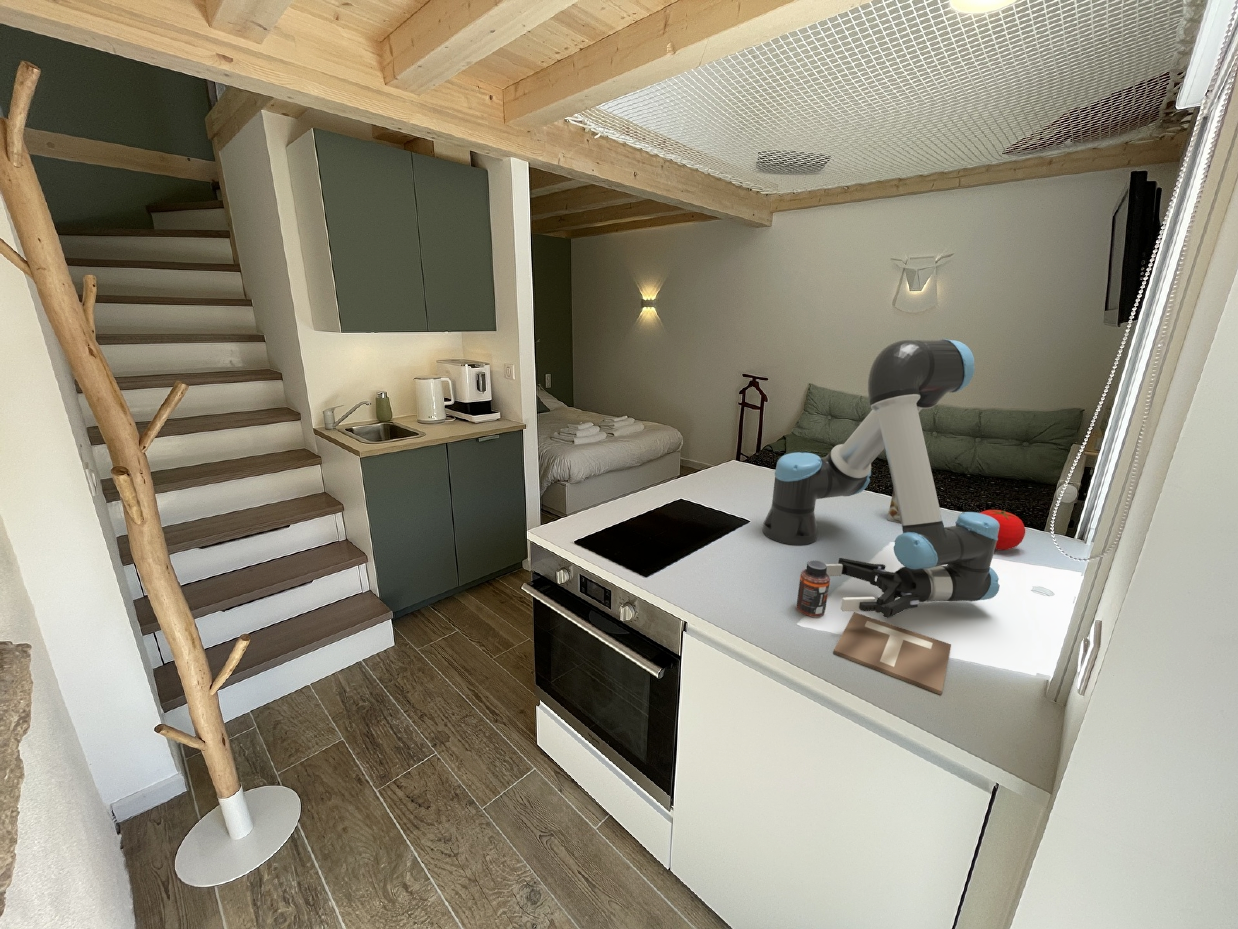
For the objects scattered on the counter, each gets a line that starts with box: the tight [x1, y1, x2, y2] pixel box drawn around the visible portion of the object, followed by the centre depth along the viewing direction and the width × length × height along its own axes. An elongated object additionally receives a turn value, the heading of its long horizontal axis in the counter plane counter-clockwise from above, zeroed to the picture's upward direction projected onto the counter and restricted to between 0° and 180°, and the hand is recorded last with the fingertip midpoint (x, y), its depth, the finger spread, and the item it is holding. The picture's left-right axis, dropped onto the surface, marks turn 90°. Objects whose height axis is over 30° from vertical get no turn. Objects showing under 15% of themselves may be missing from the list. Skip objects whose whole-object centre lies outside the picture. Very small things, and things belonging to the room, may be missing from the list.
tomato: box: [979, 509, 1026, 551], centre depth 143 cm, size 11×12×10 cm
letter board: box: [832, 611, 952, 696], centre depth 100 cm, size 18×16×1 cm
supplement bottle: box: [796, 560, 831, 618], centre depth 112 cm, size 6×6×11 cm
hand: (826, 586), depth 111 cm, fingers open, 13 cm apart
